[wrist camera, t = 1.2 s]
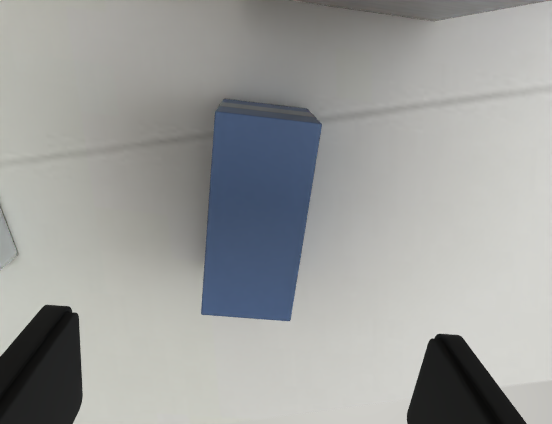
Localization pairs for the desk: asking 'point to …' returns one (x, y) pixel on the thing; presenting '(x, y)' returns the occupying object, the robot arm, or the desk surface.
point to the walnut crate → (424, 7)
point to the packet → (257, 208)
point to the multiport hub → (6, 243)
